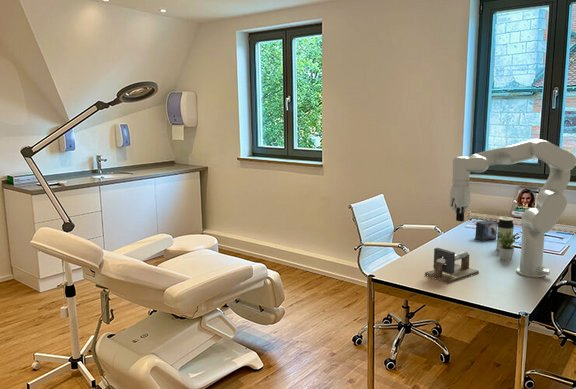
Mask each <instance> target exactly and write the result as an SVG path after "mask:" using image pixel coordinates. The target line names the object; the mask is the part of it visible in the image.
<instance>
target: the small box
mask: <svg viewBox="0 0 576 389" xmlns="http://www.w3.org/2000/svg"><path fill="white" fill-rule="evenodd" d="M475 224H476V225H475V235H474V239H476V240H479V241H481V242H483V241H492V240H494V241H495V240H497V230H498V222H496V221H494V220H491V219H490V220H478V221H476V223H475Z"/></svg>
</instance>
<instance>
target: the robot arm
mask: <svg viewBox="0 0 576 389" xmlns="http://www.w3.org/2000/svg"><path fill="white" fill-rule="evenodd" d="M533 159H538V160H540V161H542V162H544V163H545V164H547V165H548V167H549V175H548V178H547V179H546V181H545V182H544V184H543V186H542V187H541V189H540V191H539V192H538V194H537V195H536V198H535V200H536V203H537V205H538V206H539V207H540V208H535V207H530V208H528V209H526V210H525V211H524V212H523V213H522V216H521V234H522V235H521V243H520V244H521V247H520V262H519V267H517V268H516V269H515V272H516V273H517V274H518V275H520V276H523V277H527V278H535V279H536V278H543V277H545V276H550V272H551V270H550V269H546V268H545V267H546V266H545V265H543V263H544V262H543V260H544V252H545V251H544V249H545V234H547V233H549V232H551V231H552V229H553V228H554V227H555V226H556V224H557V223H558V221H559V220H560V218H561V216H562V215H563V214H564V212H565V210H566V209H567V204H568V200H567V198H566V196H565V195H564V191H566V189H567V187H568V185H569V183H570V179H571V170H573V169H575V167H576V156H575V155H574V154H573V153H572V152H570V151H568V150H566V149H564V148H562V147H560V146H557V145H556V144H554V143H552V142H550V141H548V140H544V139H539V138H535V139H529V140H526V141H522V142H519V143H516V144H512V145H507V146H503V147H498V148H493V149H489V150H484V151H480V152H477V153H474V154H471V155H470V156H459V155H458V156H455V157H453V159H452V183H451V184H452V185H451V188H450V191H449V192H450V193H449V207H452V208H451V210H452V211H455V214H456V216H455V219H456V220H455V221H457V222H461V223H462V222H464V221H465V213H466V209H467V208H468V207H469V205H470V204H471V188H470V176H471V175H470V173H475V174H476V173H478V174H481V173H484V172H486V171H487V170H488V169H489V167H490V166H491V167H492V166H496V165H504V166H505V165H507V166H508V165H509V166H510V165H515V164H517V163H521V162H525V161H530V160H533Z"/></svg>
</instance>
